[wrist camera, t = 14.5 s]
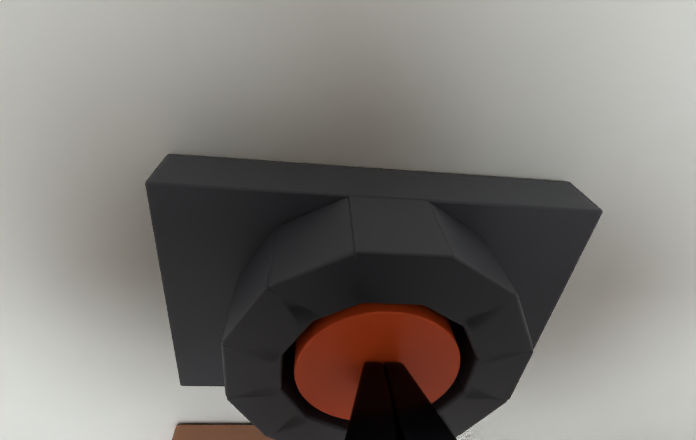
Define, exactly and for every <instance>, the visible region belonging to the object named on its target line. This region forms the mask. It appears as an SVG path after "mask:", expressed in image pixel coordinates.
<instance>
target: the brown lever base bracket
mask: <svg viewBox="0 0 696 440" xmlns="http://www.w3.org/2000/svg"><path fill="white" fill-rule="evenodd" d="M172 440H275V439H272V438H269V437H268V436H265V435H264V434H263V433H262V432H261V431H259V430H258V429H257V428H256V427H255V426H254V425H177V426H176V429H175V432H174V435H173V438H172Z"/></svg>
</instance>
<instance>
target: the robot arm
mask: <svg viewBox="0 0 696 440" xmlns="http://www.w3.org/2000/svg"><path fill="white" fill-rule="evenodd" d="M345 440H457V439H456V438H455V437H454V435H453V434H452V432H451V431H450V429H449V428H448V427H447V425H446V424H445V422H444V421H443V419H442V418H441V417H440V415H439V414H438V412H437V411H436V409H435V408H434V407H433V405H432V404H431V402H430V401H429V399H428V398H427V397H426V395H425V394H424V392H423V391H422V390H421V388H420V387H419V385H418V384H417V382H416V381H415V380H414V378H413V377H412V375H411V374H410V372H409V371H408V370H407V368H406V367H405V365H404V364H403V363H401V362H384V363H382V362H372V361H367V362H365V363H364V364H363V368H362V372H361V376H360V380H359V384H358V388H357V392H356V396H355V400H354V404H353V408H352V412H351V416H350V420H349V424H348V428H347V432H346V436H345Z"/></svg>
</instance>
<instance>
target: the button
mask: <svg viewBox="0 0 696 440" xmlns="http://www.w3.org/2000/svg"><path fill="white" fill-rule="evenodd" d="M367 361H372V362H382V363H384V362H401V363H403V364H404V365H405V367H406V368H407V370H408V371H409V372H410V374H411V375H412V377H413V378H414V380H415V381H416V382H417V384H418V385H419V387H420V388H421V390H422V391H423V392H424V394H425V395H426V397H427V398H428V399H429V401H430V402H431V404H432V403H433V402H434V401H436V400H437V399H439V398H440V397H441V396H442V395H443V394H444V393H445V392H446V391H447V390H448V389H449V388H450V387H451V385H452V384H453V382H454V381H455V379H456V377H457V374H458V371H459V368H460V351H459V348H458V345H457V342H456V339H455V337H454V334H453V331H452V328H451V326H450V323H449V320H448V318H447V317H445V316H443V315H441V314H439V313H437V312H436V311H434V310H432V309H430V308H428V307H426V306H424V305H414V304H384V303H361V304H358V305H355V306H353V307H350V308H347V309H344V310H342V311H339V312H336V313H334V314H331V315H328V316H326V317H323V318H320V319H317V320H315V321H313V322H312V323H311V324H310V325H309V326H308V327H307V328H306V329H305V330H304V332H303V333H302V334H301V335H300V336H299V337H298V338H297V339H296V344H295V361H294V378H295V382H296V385H297V387H298V389H299V391H300V393H301V394H302V396H303V397H304V398H305V399H306V400H307V401H308V402H309V403H310V404H311V405H313V406H314V407H315V408H317V409H319V410H320V411H322V412H324V413H327V414H329V415H332V416H335V417H338V418H342V419H347V420H350V416H351V412H352V408H353V404H354V400H355V396H356V392H357V388H358V384H359V380H360V376H361V372H362V368H363V364H364V363H365V362H367Z"/></svg>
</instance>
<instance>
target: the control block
mask: <svg viewBox="0 0 696 440" xmlns="http://www.w3.org/2000/svg"><path fill="white" fill-rule="evenodd" d="M145 185H146V191H147V197H148V202H149V208H150V214H151V219H152V225H153V231H154V236H155V242H156V248H157V254H158V259H159V265H160V271H161V276H162V282H163V288H164V293H165V299H166V305H167V311H168V316H169V322H170V328H171V333H172V339H173V345H174V350H175V356H176V362H177V368H178V373H179V379H180V385H182V386H225V393H226V396H227V400H228V401H229V402H230V403H231V404H233V405H234V406H235V407H236V408H237V409H238V410H239V411H240V412H241V413H242V414H243V415H244V416H245V417H246V418H247V419H248V420H249V421H250V422H251V423H252V424H253V425H254V426H255V427H256V428H257V429H258V430H259V431H261V432H262V433H263V434H264V435H265V436H268V437H269V438H272V439H275V440H345V436H346V432H347V428H348V424H349V420H347V419H342V418H338V417H335V416H332V415H329V414H327V413H324V412H322V411H320V410H319V409H317V408H315V407H314V406H313V405H311V404H310V403H309V402H308V401H307V400H306V399H305V398H304V397H303V396H302V394H301V393H300V391H299V389H298V387H297V385H296V382H295V378H294V361H295V344H296V339H297V338H298V337H299V336H300V335H301V334H302V333H303V332H304V330H305V329H306V328H307V327H308V326H309V325H310V324H311V323H312V322H313V321H315V320H317V319H320V318H323V317H326V316H328V315H331V314H334V313H336V312H339V311H342V310H344V309H347V308H350V307H353V306H355V305H358V304H361V303H384V304H414V305H424V306H426V307H428V308H430V309H432V310H434V311H436V312H437V313H439V314H441V315H443V316H445V317H447V318H448V320H449V323H450V326H451V328H452V331H453V334H454V337H455V339H456V342H457V345H458V348H459V351H460V368H459V371H458V374H457V377H456V379H455V381H454V382H453V384H452V385H451V387H450V388H449V389H448V390H447V391H446V392H445V393H444V394H443V395H442V396H441V397H440V398H439V399H437V400H436V401H434V402H433V403H432V405H433V407H434V408H435V409H436V411H437V412H438V414H439V415H440V417H441V418H442V419H443V421H444V422H445V424H446V425H447V427H448V428H449V429H450V431H451V432H452V434H453V435H454V437H455V438H456V437H457V436H458V435H460V434H462V433H463V432H465V431H466V430H467V429H469V428H470V427H472V426H473V425H474V424H476V423H477V422H479V421H480V420H481V419H483V418H484V417H486V416H487V415H489V414H490V413H491V412H493V411H494V410H496V409H497V408H498V407H500V406H501V405H503V404H504V403H505V402H506V401H507V400H508V399H510V397H511V395H512V393H513V391H514V389H515V387H516V385H517V383H518V381H519V379H520V377H521V375H522V373H523V371H524V369H525V367H526V365H527V363H528V361H529V359H530V357H531V355H532V353H533V349H534V347H535V345H536V343H537V341H538V339H539V337H540V335H541V333H542V332H543V330H544V328H545V326H546V324H547V322H548V320H549V318H550V316H551V314H552V312H553V310H554V308H555V306H556V304H557V302H558V300H559V298H560V296H561V294H562V292H563V290H564V288H565V286H566V284H567V282H568V280H569V278H570V276H571V274H572V272H573V270H574V268H575V266H576V264H577V262H578V260H579V258H580V256H581V254H582V252H583V250H584V248H585V246H586V244H587V242H588V240H589V238H590V236H591V234H592V232H593V230H594V228H595V226H596V224H597V222H598V220H599V218H600V216H601V214H602V210H601V209H600V208H599V207H598V206H597V205H595V204H594V203H593V202H592V201H591V200H590V199H589V198H587V197H586V196H585V195H584V194H583V193H582V192H580V191H579V190H578V189H577V188H576V187H575V186H574V185H572V184H571V183H570V182H562V181H547V180H533V179H519V178H504V177H490V176H476V175H461V174H447V173H433V172H418V171H404V170H390V169H375V168H361V167H347V166H332V165H318V164H304V163H289V162H275V161H261V160H246V159H232V158H218V157H203V156H189V155H175V154H168V155H166V157H165V158H164V159H163V161H162V162H161V163H160V164H159V166H158V167H157V168H156V169H155V171H154V172H153V173H152V175H151V176H150V177H149V178H148V180H147V181H146V183H145Z"/></svg>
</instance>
